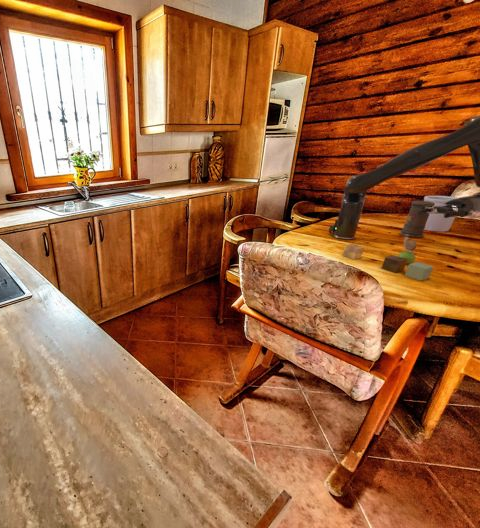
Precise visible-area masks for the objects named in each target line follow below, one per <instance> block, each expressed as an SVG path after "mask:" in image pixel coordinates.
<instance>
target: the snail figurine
mask: <svg viewBox="0 0 480 528" xmlns="http://www.w3.org/2000/svg"><path fill="white" fill-rule="evenodd" d="M407 235H409V234H406V236H407ZM406 236H404V240H403V249H404V251H401V252H399V253H398V254H397V256H398V257H401V258H405V259H408V260H407V262H406V265H409V264H412V263H414V262H415V260H416V258H417V257H416V255H415V252H416V251H415V250H416V249H417V247H418V243H417V242H416V241H415V240H412V239H411V240H410V237H406Z"/></svg>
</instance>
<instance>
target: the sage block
mask: <svg viewBox="0 0 480 528" xmlns="http://www.w3.org/2000/svg"><path fill="white" fill-rule="evenodd" d="M433 269H434V265H430V264H426V263H423V262H419V261H416V262H415V261H414V262H412V263H410V264H408V266H407V268H406V271H405V274H404V276H405V277H408V278H411V279H413V280H417V281H420V282H422V281H425V280H427V279H429V278H430V276H431V274H432V272H433Z"/></svg>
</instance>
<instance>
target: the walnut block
mask: <svg viewBox="0 0 480 528" xmlns="http://www.w3.org/2000/svg"><path fill="white" fill-rule="evenodd" d="M407 260H408V259H405V258H401V257H398V255H392V254H391V255H389V256H385V257H384V260H383V263H382V266H381V269H382V270H385V271H389V272H392V273H394V274H395V273H396V274H397V273H399V272H404V270H405V268H406V265H407V264H406V262H407Z"/></svg>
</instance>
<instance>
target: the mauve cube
mask: <svg viewBox="0 0 480 528" xmlns="http://www.w3.org/2000/svg"><path fill="white" fill-rule="evenodd" d="M364 249H365V247H364V246H362V245H358V244H354V243H351V244H347V245H344V249H343V252H342V257H345V258H347V259H351V260H356V259H360V258H362V256H363V253H364Z"/></svg>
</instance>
